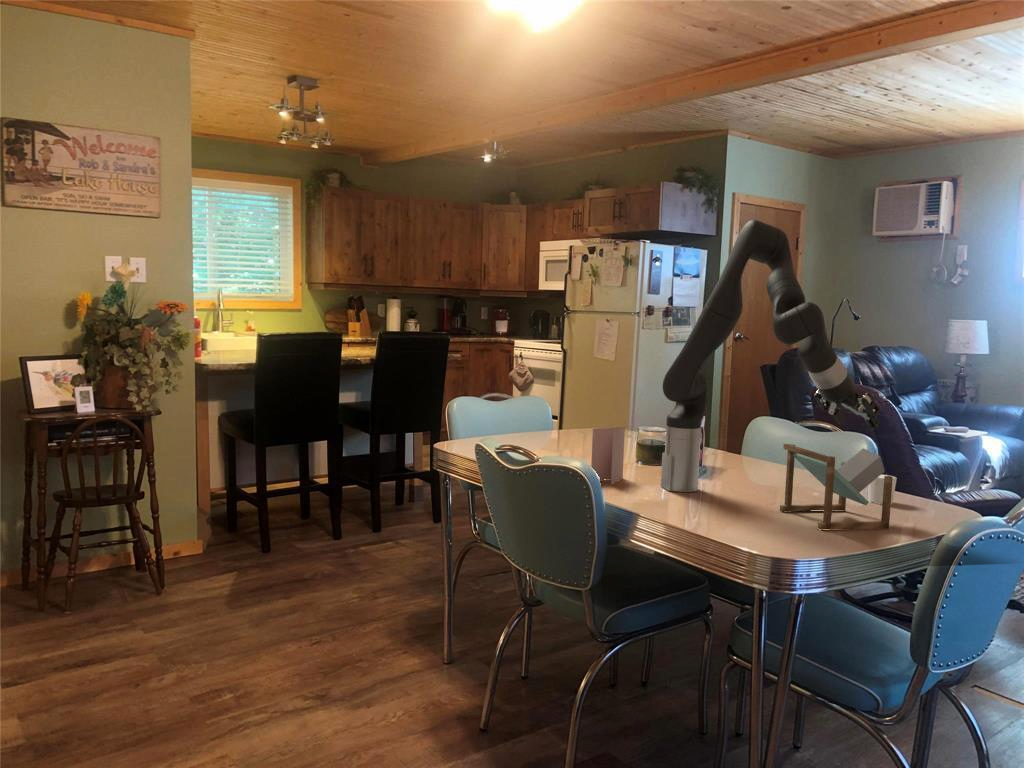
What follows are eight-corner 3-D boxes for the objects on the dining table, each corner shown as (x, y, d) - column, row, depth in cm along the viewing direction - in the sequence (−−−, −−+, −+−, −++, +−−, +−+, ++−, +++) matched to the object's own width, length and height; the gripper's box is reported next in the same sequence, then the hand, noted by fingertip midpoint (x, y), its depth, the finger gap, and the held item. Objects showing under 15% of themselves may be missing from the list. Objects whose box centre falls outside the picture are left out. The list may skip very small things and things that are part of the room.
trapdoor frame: (820, 530, 172) (825, 456, 171) (779, 510, 189) (783, 443, 188) (888, 529, 175) (894, 456, 174) (842, 509, 192) (846, 443, 191)
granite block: (849, 481, 179) (880, 456, 180) (832, 472, 183) (863, 448, 185) (854, 496, 181) (884, 471, 183) (837, 487, 185) (867, 463, 187)
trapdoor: (826, 466, 173) (829, 463, 173) (792, 455, 187) (795, 452, 187) (866, 505, 176) (869, 502, 176) (830, 491, 189) (832, 488, 189)
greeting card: (620, 477, 224) (622, 426, 223) (637, 482, 218) (639, 430, 217) (588, 481, 218) (590, 428, 217) (605, 486, 212) (607, 432, 211)
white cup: (900, 505, 200) (902, 478, 199) (877, 505, 198) (879, 478, 198) (883, 499, 206) (884, 473, 206) (860, 499, 205) (862, 473, 205)
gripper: (866, 366, 170) (894, 416, 177) (812, 362, 182) (840, 409, 189) (849, 391, 168) (878, 440, 175) (795, 385, 180) (824, 431, 187)
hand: (858, 424), depth 182 cm, fingers open, 8 cm apart
